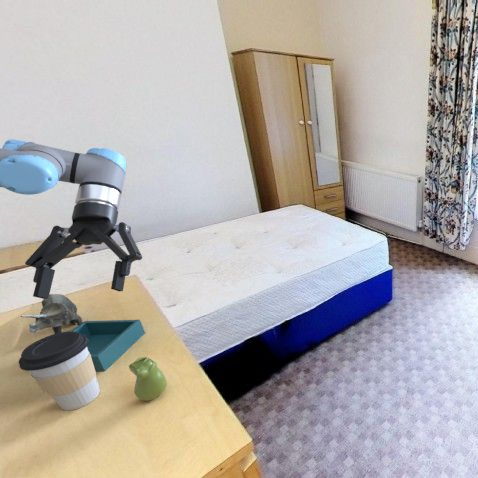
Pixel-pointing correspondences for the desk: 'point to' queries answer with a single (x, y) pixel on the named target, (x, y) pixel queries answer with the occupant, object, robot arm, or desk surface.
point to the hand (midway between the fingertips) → (79, 293)
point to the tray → (109, 339)
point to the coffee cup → (63, 368)
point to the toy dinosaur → (55, 314)
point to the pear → (148, 379)
